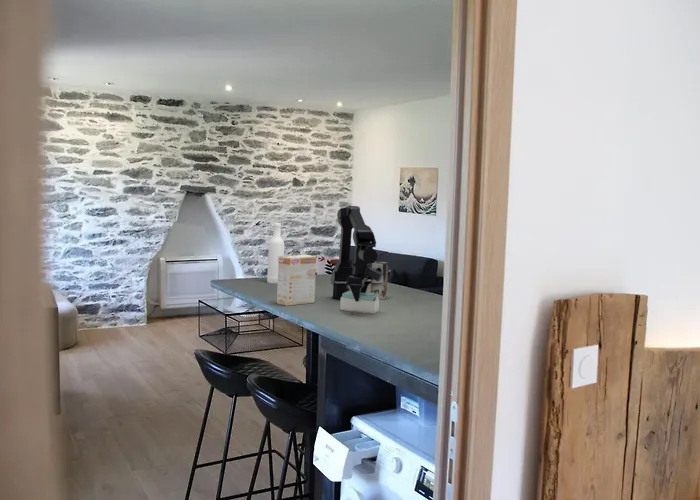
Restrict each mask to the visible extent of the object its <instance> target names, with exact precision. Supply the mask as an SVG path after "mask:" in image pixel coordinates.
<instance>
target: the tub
mask: <svg viewBox="0 0 700 500" xmlns="http://www.w3.org/2000/svg"><path fill="white" fill-rule="evenodd" d="M339 303H340V304H339V305H340V307H339V308H340V309H339V310H340V311H343V310H344V311H346V312H352V311H353V313H361V312H363V313H364V314H372V315H375V314H377V313H378V312H379V308H380V307H379V306H380V305H379V303H380V299H378V297H375V300H373V301H371V300H361V299H359V301H358V302H356V301H355V299H352V298H342V297H341V299H340V302H339ZM363 313H362V314H363Z"/></svg>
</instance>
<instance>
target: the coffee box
mask: <svg viewBox="0 0 700 500" xmlns="http://www.w3.org/2000/svg"><path fill="white" fill-rule="evenodd" d="M379 267H380V268H382V272H383V276H382V278H381V280H379V281H375V280H373V282H372V283H371V284H370V294H378V299H379V300H383V301H384V300H385V299H386V298H387V294H388V293H387V292H388V274H389V262H388V261H375V262H374V263H371V268H375V269H377V268H379ZM370 281H372V280H370Z"/></svg>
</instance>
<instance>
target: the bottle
mask: <svg viewBox="0 0 700 500" xmlns="http://www.w3.org/2000/svg"><path fill="white" fill-rule="evenodd" d="M272 225H273V227H272V228H273V231H272V232H273V233H272V234H273V235H272V237H270V239H269V242H268V249H267V250H268V252H267V276H266V281H267V283H268V284H277V285H278V259H279V256H285V242H284V239H283V238H282V237H281V235H282V234H281V232H282V231H281V230H282V223H281V222H273V224H272Z"/></svg>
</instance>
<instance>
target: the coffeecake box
mask: <svg viewBox="0 0 700 500" xmlns="http://www.w3.org/2000/svg"><path fill="white" fill-rule="evenodd" d="M316 268H317V256H315V255H310V254H301V255H300V254H297V255H284V256H279V259H278V284H277V292H276V304H278V305H282V306H286V307H288V306H295V305H304V304H313V303H315V296H316V293H315V292H316V270H317V269H316Z"/></svg>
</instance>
